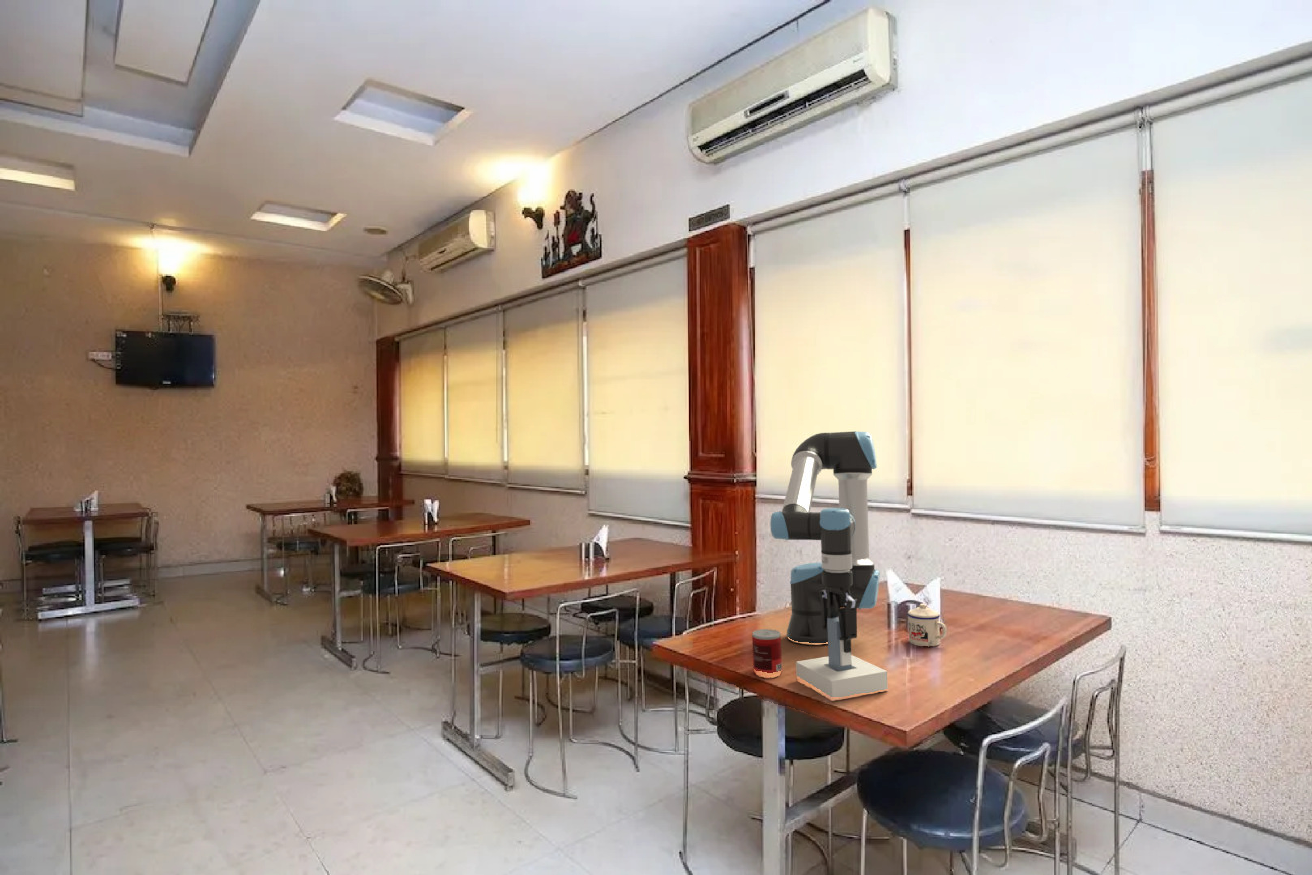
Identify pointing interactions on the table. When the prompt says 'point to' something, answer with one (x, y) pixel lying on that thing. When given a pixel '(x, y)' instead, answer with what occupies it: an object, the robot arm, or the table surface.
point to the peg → (835, 645)
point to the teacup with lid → (925, 626)
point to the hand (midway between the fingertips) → (840, 661)
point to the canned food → (767, 650)
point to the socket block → (842, 677)
